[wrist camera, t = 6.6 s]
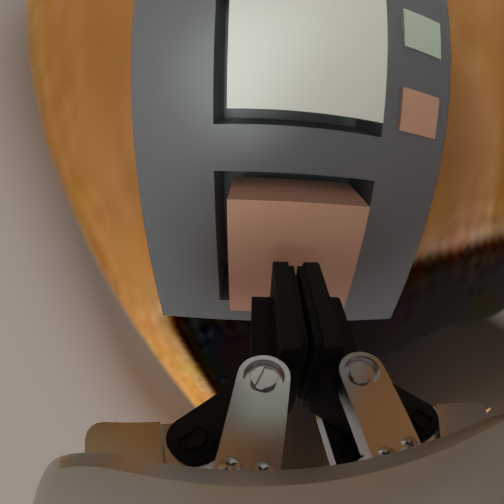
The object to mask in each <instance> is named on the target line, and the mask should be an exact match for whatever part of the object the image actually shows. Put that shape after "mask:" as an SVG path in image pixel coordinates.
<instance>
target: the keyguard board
mask: <svg viewBox="0 0 504 504" xmlns="http://www.w3.org/2000/svg"><path fill="white" fill-rule="evenodd" d="M386 3H387V27H388V56H387V82H386V97H385V109H384V119H383V123H380V122H374V121H369V120H364V119H358V118H352V117H345V116H338V115H331V114H323V113H314V112H303V111H291V110H276V109H247V108H227V57H228V24H229V0H135V5H134V16H133V30H132V53H131V95H132V119H133V135H134V148H135V158H136V168H137V177H138V185H139V193H140V200H141V207H142V214H143V220H144V226H145V232H146V238H147V243H148V249H149V254H150V259H151V264H152V268H153V273H154V278H155V282H156V287H157V291H158V295H159V299H160V304H161V308H162V312H163V315H170V316H182V317H195V318H211V319H230V320H251V311H235V310H230V299H229V269H228V231H227V198H228V194H229V191H230V188H231V184H232V181H233V178H234V177H256V178H281V179H299V180H314V181H327V182H338V183H349V184H350V185H351V187H352V188H353V189H354V190H355V191H356V192H357V193H358V194H359V195H360V196H361V198H362V199H363V200H364V201H365V202H366V203H367V204H368V205H369V207H370V209H369V214H368V219H367V224H366V228H365V232H364V237H363V241H362V245H361V249H360V253H359V257H358V261H357V265H356V268H355V272H354V276H353V279H352V283H351V286H350V290H349V293H348V296H347V300H346V303H345V306H344V312H345V315H346V317H347V320H371V319H389V318H391V315H392V313H393V311H394V309H395V306H396V304H397V302H398V299H399V297H400V295H401V292H402V290H403V287H404V285H405V282H406V280H407V277H408V275H409V272H410V269H411V267H412V264H413V261H414V258H415V255H416V252H417V250H418V247H419V243H420V240H421V237H422V234H423V231H424V228H425V224H426V221H427V217H428V214H429V210H430V206H431V202H432V198H433V194H434V190H435V186H436V182H437V177H438V172H439V167H440V162H441V157H442V151H443V145H444V138H445V131H446V124H447V115H448V105H449V91H450V29H449V17H448V7H447V0H386Z"/></svg>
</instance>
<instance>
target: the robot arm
mask: <svg viewBox="0 0 504 504" xmlns="http://www.w3.org/2000/svg"><path fill="white" fill-rule="evenodd" d="M296 395H297V397H298V399H303V405H304V407H307V406H310V411H311V412H312V413H314V414H315V415H316V418H317V423H318V427H319V430H320V433H321V436H322V440H323V443H324V446H325V450H326V453H327V456H328V459H329V463H330V466H325V467H316V468H307V469H294V470H280V466H281V459H282V451H283V442H284V436H285V427H286V419H287V415H288V414H289V413H290V412H291V410H292V407H293V404H294V401H295V398H296ZM33 504H504V413H501V414H497V415H494V416H491V417H488V416H487V412H486V410H485V408H484V407H483V406H482V405H481V404H480V403H478V402H469V403H457V404H438V405H436V406H435V407H432V406H431V405H429V404H428V403H426V402H424V401H423V400H421V399H419V398H417V397H416V396H414V395H412V394H410V393H409V392H407V391H405V390H403V389H402V388H400V387H398V386H396V385H394V384H393V383H392V382H391V380H390V378H389V376H388V374H387V372H386V371H385V368H384V366H383V365H382V363H381V362H380V361H379V360H378V359H377V358H376V357H375V356H373V355H371V354H369V353H365V352H358V351H357V348H356V345H355V342H354V339H353V336H352V333H351V329H350V326H349V323H348V320H347V317H346V315H345V312H344V309H343V306H342V303H341V300H340V298H338V297H330V295H329V292H328V289H327V286H326V283H325V280H324V277H323V273H322V270H321V268H320V265H319V263H318V262H303V265H302V266H298V267H297V272H296V274H295V269H294V266H289V263H288V262H277V261H273V265H272V277H271V290H270V297H252V303H251V345H250V359H248V360H246V361H245V362H244V363H243V364H242V365H241V366H240V368H239V370H238V373H237V377H236V380H235V381H234V382H233V383H231V384H230V385H229V386H227V387H226V388H224V389H223V390H222V391H220V392H219V393H217V394H216V395H214V396H213V397H211V398H210V399H209V400H207V401H206V402H204V403H203V404H201V405H200V406H198V407H197V408H195V409H194V410H192V411H191V412H189V413H188V414H186V415H185V416H183V417H182V418H180V419H178V420H177V421H175V422H174V423H172V424H160V422H143V423H118V422H101V423H96V424H94V425H93V426H91V427H90V429H89V430H88V431H87V434H86V438H85V453H75V454H69V455H64V456H61V457H58V458H56V459H55V460H53V461H52V462H51V463H50V464H49V465H48V467H47V468H46V470H45V471H44V474H43V475H42V478H41V480H40V482H39V485H38V488H37V491H36V494H35V498H34V502H33Z"/></svg>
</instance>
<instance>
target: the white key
mask: <svg viewBox="0 0 504 504" xmlns="http://www.w3.org/2000/svg"><path fill="white" fill-rule="evenodd" d="M387 56H388V27H387V3H386V0H229V24H228V57H227V108H247V109H276V110H291V111H303V112H314V113H323V114H331V115H338V116H345V117H352V118H358V119H364V120H369V121H374V122H380V123H383V119H384V109H385V97H386V82H387Z"/></svg>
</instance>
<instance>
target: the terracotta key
mask: <svg viewBox="0 0 504 504" xmlns="http://www.w3.org/2000/svg"><path fill="white" fill-rule="evenodd" d="M369 209H370V207H369V205H368V204H367V203H366V202H365V201H364V200H363V199H362V198H361V196H360V195H359V194H358V193H357V192H356V191H355V190H354V189H353V188H352V187H351V185H350V184H349V183H338V182H327V181H314V180H299V179H281V178H256V177H234V178H233V181H232V184H231V188H230V191H229V194H228V198H227V231H228V269H229V299H230V310H235V311H251V303H252V297H270V290H271V277H272V265H273V261H277V262H288V263H289V266H294V269H295V274H296V272H297V267H298V266H302V265H303V262H318V263H319V265H320V268H321V270H322V273H323V277H324V280H325V283H326V286H327V289H328V292H329V295H330V297H338V298H340V300H341V303H342V306H343V309H344V306H345V303H346V300H347V296H348V293H349V290H350V286H351V283H352V279H353V276H354V272H355V268H356V265H357V261H358V257H359V253H360V249H361V245H362V241H363V237H364V232H365V228H366V224H367V219H368V214H369Z"/></svg>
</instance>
